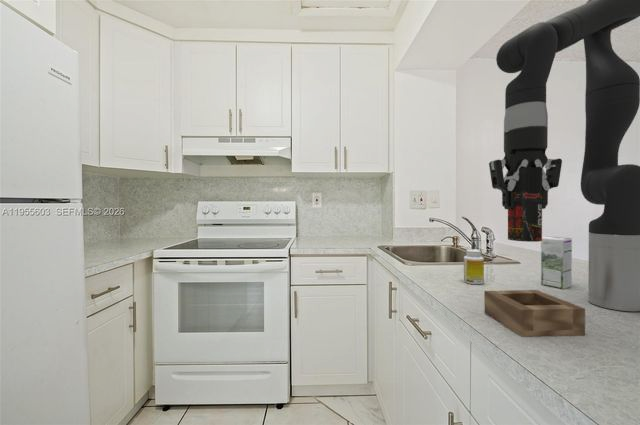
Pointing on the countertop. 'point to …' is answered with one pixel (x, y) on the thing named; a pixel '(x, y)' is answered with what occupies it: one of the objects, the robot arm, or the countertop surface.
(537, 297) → the socket block
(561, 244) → the syrup box
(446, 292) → the countertop surface
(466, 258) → the supplement bottle
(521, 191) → the deodorant
